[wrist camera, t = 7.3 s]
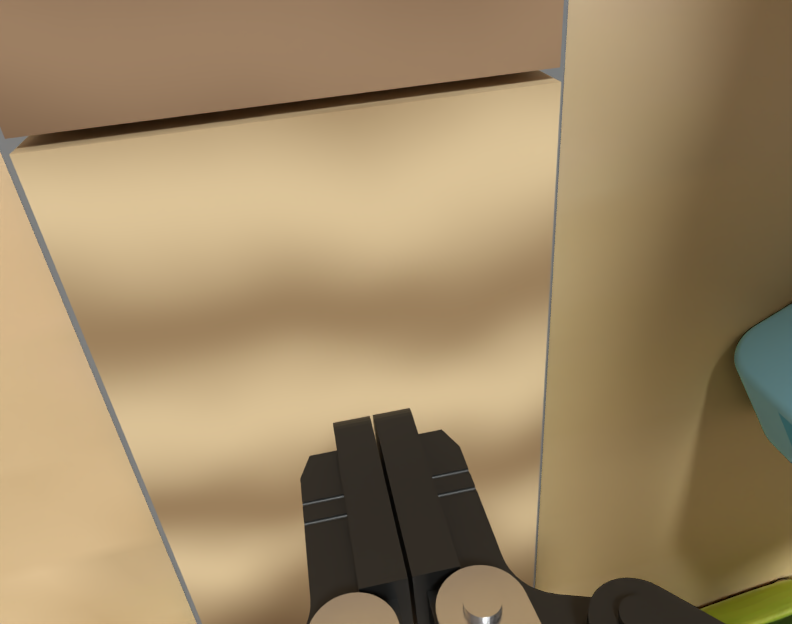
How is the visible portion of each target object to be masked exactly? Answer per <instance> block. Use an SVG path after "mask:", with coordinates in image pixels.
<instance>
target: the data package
mask: <svg viewBox="0 0 792 624" xmlns="http://www.w3.org/2000/svg"><path fill="white" fill-rule="evenodd" d="M734 362H735V367H736V369H737V372H738V374H739V376H740V378H741V381H742V383H743V385H744V388H745V390H746V392H747V395H748V397H749V399H750V401H751V404H752V406H753V408H754V411H755V413H756V415H757V417H758V420H759V422H760V424H761V427H762V429H763V431H764V434H765V435H766V437H767V438H768V440H769V441H770V442H771V443H772V444H773V445H774V446H775V447H776V448H777V449H778V450H779V451H780V452H781V453H782V454H783V455H784V456H785V457H786V458H787V459H788V460H789V461H790V462H791V463H792V304H790V305H788V306H787V307H785V308H783V309H782V310H780V311H778V312H777V313H775V314H774V315H772V316H770V317H769V318H767V319H765V320H764V321H762V322H760V323H759V324H757V325H756V326H754V327H753V328H751V329H750V330H749V331H748V332H746V334H745V335H744V336H743V337H742V338H741V340H740V341H739V343H738V345H737V347H736V350H735V355H734Z"/></svg>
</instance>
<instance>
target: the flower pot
mask: <svg viewBox="0 0 792 624" xmlns="http://www.w3.org/2000/svg"><path fill="white" fill-rule="evenodd" d="M700 610H702V611H704V612H706V613H707V614H709V615H711V616H713V617H714V618H716V619H718V620H720V621H722V622H723V623H725V624H792V579H789V580H788V579H780V580H778V581H776V582H775V583H773V584H770V585H767V586H764V587H761V588H758V589H755V590H752V591H749V592H746V593H743V594H740V595H737V596H734V597H732V598H729V599H726V600H723V601H721V602H718V603H715V604H712V605H709V606H707V607H704V608H701V609H700Z"/></svg>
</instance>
